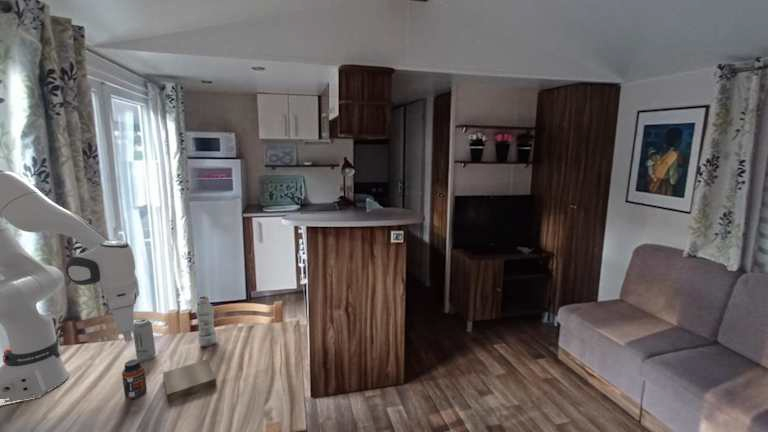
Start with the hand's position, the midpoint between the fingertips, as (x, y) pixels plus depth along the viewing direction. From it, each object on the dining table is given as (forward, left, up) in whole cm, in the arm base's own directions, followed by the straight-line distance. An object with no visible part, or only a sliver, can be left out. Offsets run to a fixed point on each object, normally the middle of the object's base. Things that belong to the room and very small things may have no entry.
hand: (128, 334), depth 117 cm
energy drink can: (+4, +23, -21) cm, 32 cm away
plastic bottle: (+25, +20, -21) cm, 38 cm away
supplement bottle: (0, 0, -21) cm, 21 cm away
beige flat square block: (+15, -4, -21) cm, 26 cm away
